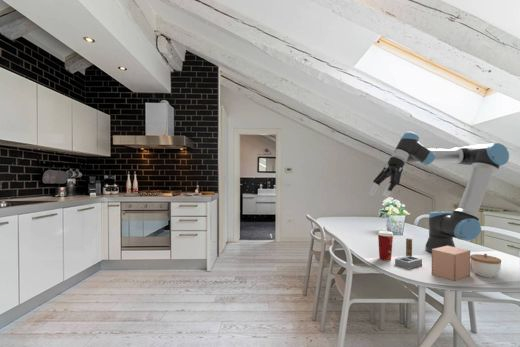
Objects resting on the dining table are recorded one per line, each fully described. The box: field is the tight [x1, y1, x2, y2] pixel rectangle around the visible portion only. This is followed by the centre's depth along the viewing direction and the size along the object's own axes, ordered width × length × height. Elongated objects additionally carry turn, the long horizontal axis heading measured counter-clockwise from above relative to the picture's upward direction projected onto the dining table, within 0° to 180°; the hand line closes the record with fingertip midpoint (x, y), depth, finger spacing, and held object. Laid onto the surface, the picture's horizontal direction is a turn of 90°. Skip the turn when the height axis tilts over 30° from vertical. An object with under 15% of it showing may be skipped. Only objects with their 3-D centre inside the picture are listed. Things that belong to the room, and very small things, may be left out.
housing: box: [431, 246, 471, 282], centre depth 125 cm, size 13×9×11 cm
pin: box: [405, 237, 413, 257], centre depth 150 cm, size 3×3×10 cm
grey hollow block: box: [394, 255, 423, 270], centre depth 138 cm, size 11×7×3 cm, turn 121°
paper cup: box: [377, 230, 394, 261], centre depth 148 cm, size 8×8×14 cm
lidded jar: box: [470, 253, 502, 279], centre depth 125 cm, size 11×11×9 cm
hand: (377, 195), depth 143 cm, fingers open, 13 cm apart
